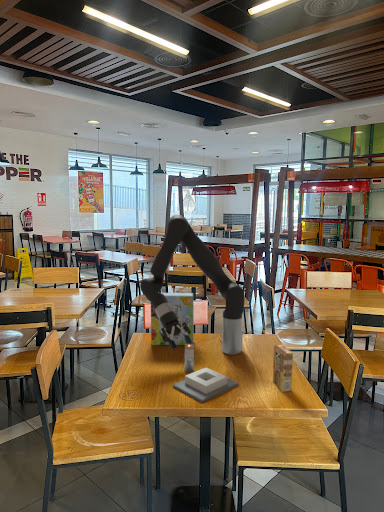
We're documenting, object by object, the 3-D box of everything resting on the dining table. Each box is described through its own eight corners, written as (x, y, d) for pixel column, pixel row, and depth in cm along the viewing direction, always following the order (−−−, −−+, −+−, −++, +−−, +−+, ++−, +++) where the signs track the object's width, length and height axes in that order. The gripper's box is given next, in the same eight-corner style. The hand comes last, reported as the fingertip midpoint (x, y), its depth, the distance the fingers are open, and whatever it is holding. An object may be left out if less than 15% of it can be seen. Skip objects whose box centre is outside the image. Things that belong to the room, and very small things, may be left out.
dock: (209, 372, 157) (209, 363, 157) (238, 385, 146) (238, 375, 145) (173, 386, 143) (173, 377, 143) (202, 402, 132) (202, 392, 131)
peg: (189, 367, 162) (189, 343, 160) (195, 370, 159) (196, 345, 157) (182, 370, 159) (182, 345, 157) (188, 373, 156) (189, 347, 155)
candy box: (292, 391, 141) (294, 352, 139) (281, 392, 140) (283, 353, 138) (281, 380, 150) (283, 344, 148) (271, 381, 149) (273, 345, 147)
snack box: (193, 340, 196) (194, 292, 192) (193, 346, 187) (194, 296, 184) (152, 339, 196) (152, 291, 193) (150, 345, 187) (150, 295, 184)
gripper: (157, 313, 160) (174, 346, 153) (182, 308, 170) (199, 338, 163) (150, 322, 165) (166, 354, 158) (174, 316, 174) (190, 346, 168)
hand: (183, 346), depth 160 cm, fingers open, 8 cm apart
